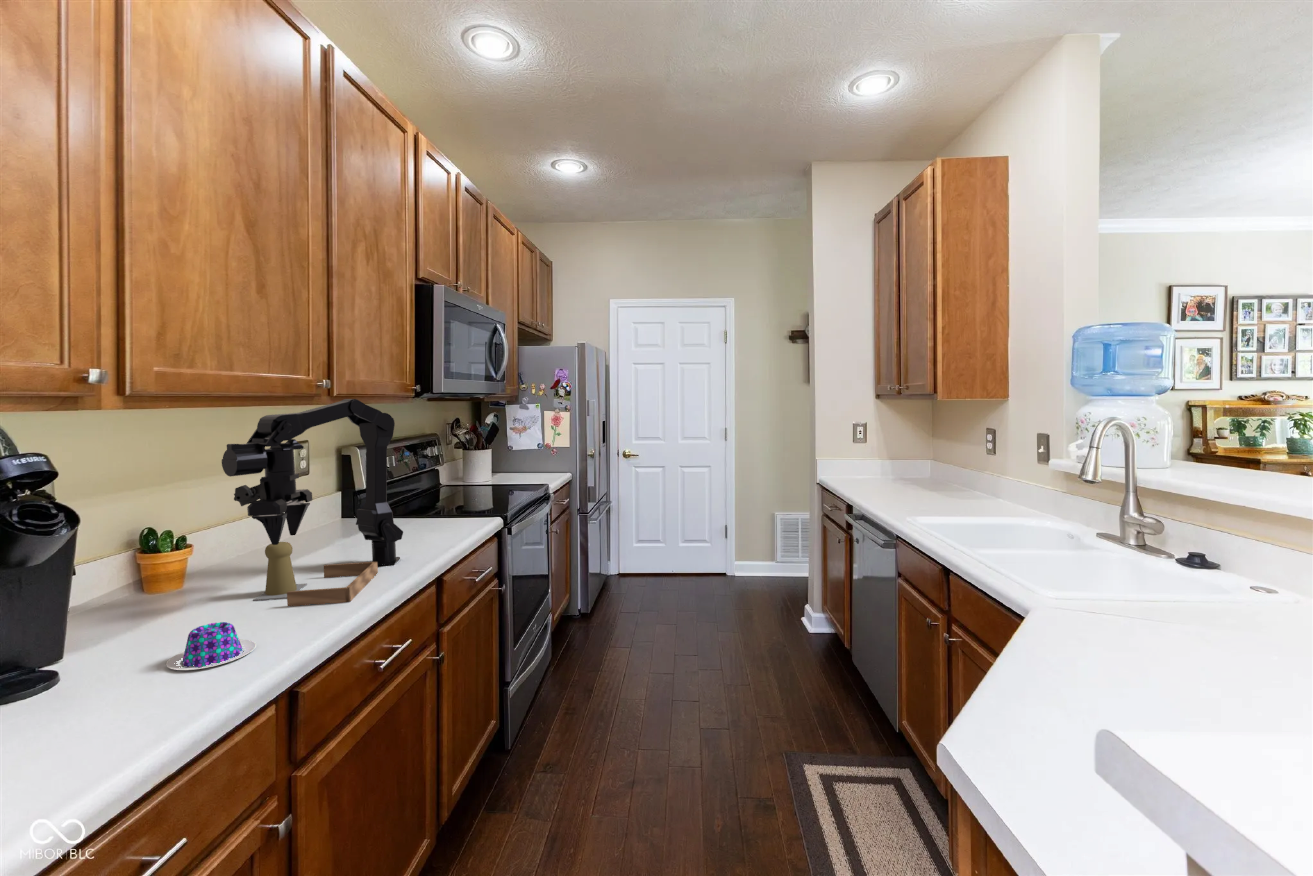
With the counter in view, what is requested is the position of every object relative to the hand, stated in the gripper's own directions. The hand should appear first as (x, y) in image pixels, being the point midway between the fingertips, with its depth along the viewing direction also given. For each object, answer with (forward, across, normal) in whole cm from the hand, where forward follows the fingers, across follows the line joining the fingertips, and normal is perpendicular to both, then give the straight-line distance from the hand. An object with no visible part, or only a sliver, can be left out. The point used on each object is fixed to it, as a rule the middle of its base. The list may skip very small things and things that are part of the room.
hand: (284, 539), depth 132 cm
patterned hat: (+12, +36, +3) cm, 38 cm away
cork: (+12, +1, -1) cm, 12 cm away
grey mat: (+12, +1, -1) cm, 12 cm away
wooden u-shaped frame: (+12, +1, +11) cm, 16 cm away
